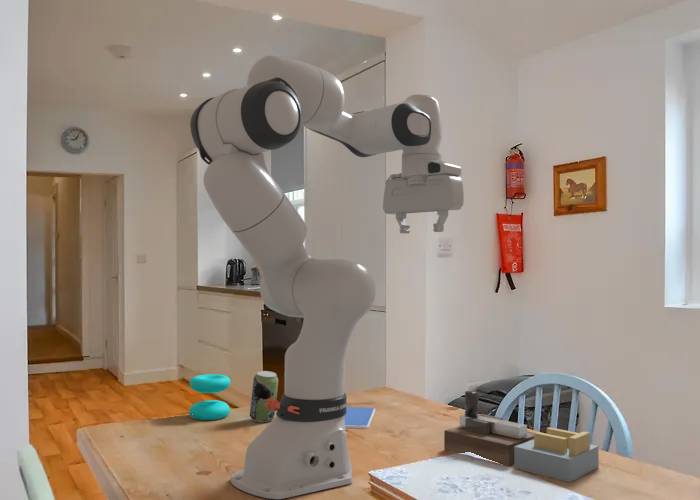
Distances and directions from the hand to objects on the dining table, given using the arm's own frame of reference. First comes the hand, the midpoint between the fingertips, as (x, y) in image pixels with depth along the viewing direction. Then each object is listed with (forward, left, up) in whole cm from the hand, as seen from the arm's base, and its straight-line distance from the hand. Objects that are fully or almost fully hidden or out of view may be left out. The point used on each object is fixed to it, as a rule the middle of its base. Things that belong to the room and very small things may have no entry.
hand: (421, 232), depth 138 cm
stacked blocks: (+4, -30, -46) cm, 55 cm away
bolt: (+4, -16, -41) cm, 44 cm away
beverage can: (-14, +37, -46) cm, 61 cm away
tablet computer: (+3, +25, -46) cm, 53 cm away
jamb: (+4, -16, -46) cm, 48 cm away
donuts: (-21, +50, -46) cm, 71 cm away
